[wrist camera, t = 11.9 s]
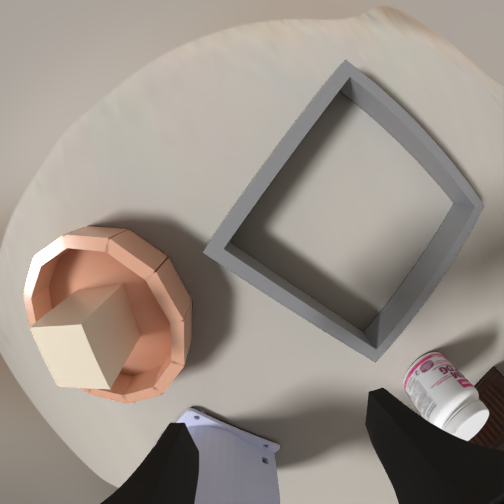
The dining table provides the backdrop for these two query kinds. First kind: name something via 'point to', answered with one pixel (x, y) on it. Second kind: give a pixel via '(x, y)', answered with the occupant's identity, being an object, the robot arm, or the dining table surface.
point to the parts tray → (428, 265)
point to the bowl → (139, 294)
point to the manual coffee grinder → (491, 410)
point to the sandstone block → (88, 337)
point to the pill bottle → (445, 396)
